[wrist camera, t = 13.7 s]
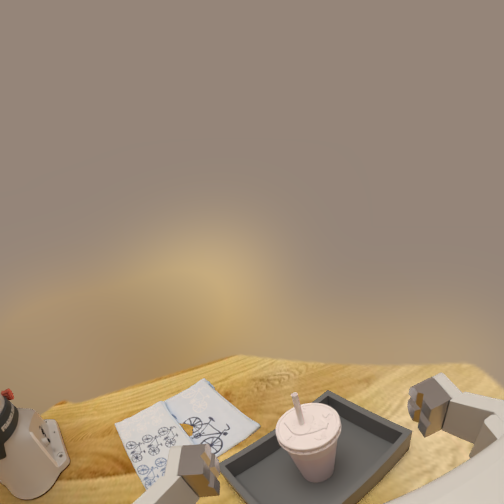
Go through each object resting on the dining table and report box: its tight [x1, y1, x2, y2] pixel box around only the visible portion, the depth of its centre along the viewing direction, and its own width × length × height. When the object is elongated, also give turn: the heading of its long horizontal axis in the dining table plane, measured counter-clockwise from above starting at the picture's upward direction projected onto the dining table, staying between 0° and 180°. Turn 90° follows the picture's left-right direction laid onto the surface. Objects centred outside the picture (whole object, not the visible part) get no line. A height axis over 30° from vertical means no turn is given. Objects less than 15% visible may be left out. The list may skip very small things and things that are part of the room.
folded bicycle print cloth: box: [115, 378, 260, 490], centre depth 39 cm, size 19×20×2 cm
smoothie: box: [276, 392, 341, 483], centre depth 25 cm, size 6×6×14 cm
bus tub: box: [219, 390, 412, 504], centre depth 26 cm, size 14×18×4 cm
